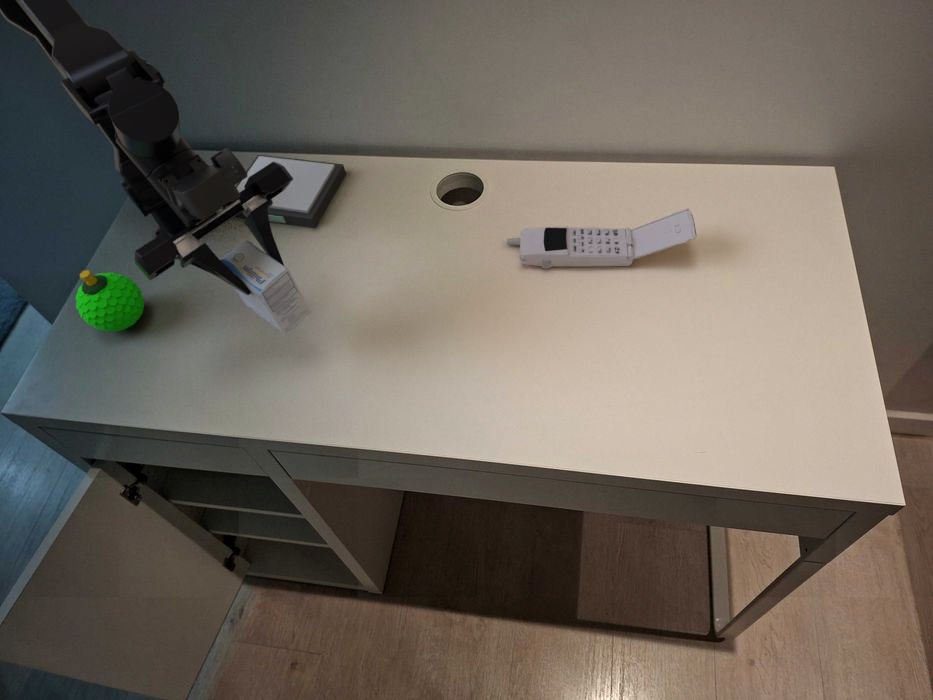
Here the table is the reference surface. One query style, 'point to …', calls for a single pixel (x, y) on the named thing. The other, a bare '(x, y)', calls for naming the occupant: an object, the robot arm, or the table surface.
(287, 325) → the medicine box
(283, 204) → the kitchen scale
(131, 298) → the ornament
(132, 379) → the table surface
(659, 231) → the mobile phone
